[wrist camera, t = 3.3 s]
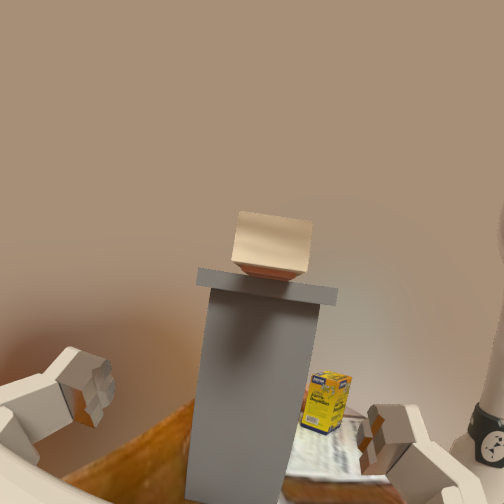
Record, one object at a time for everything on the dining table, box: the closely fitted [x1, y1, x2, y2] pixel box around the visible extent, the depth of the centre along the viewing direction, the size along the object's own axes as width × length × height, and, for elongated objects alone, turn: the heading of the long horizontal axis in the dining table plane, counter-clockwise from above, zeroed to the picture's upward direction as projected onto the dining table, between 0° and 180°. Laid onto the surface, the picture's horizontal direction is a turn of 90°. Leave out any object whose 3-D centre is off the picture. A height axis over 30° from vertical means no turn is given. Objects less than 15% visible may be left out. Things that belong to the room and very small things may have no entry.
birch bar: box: [231, 211, 313, 281], centre depth 30 cm, size 26×4×3 cm, turn 177°
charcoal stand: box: [184, 268, 338, 504], centre depth 34 cm, size 18×12×26 cm, turn 177°
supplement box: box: [301, 371, 352, 435], centre depth 53 cm, size 6×6×11 cm
